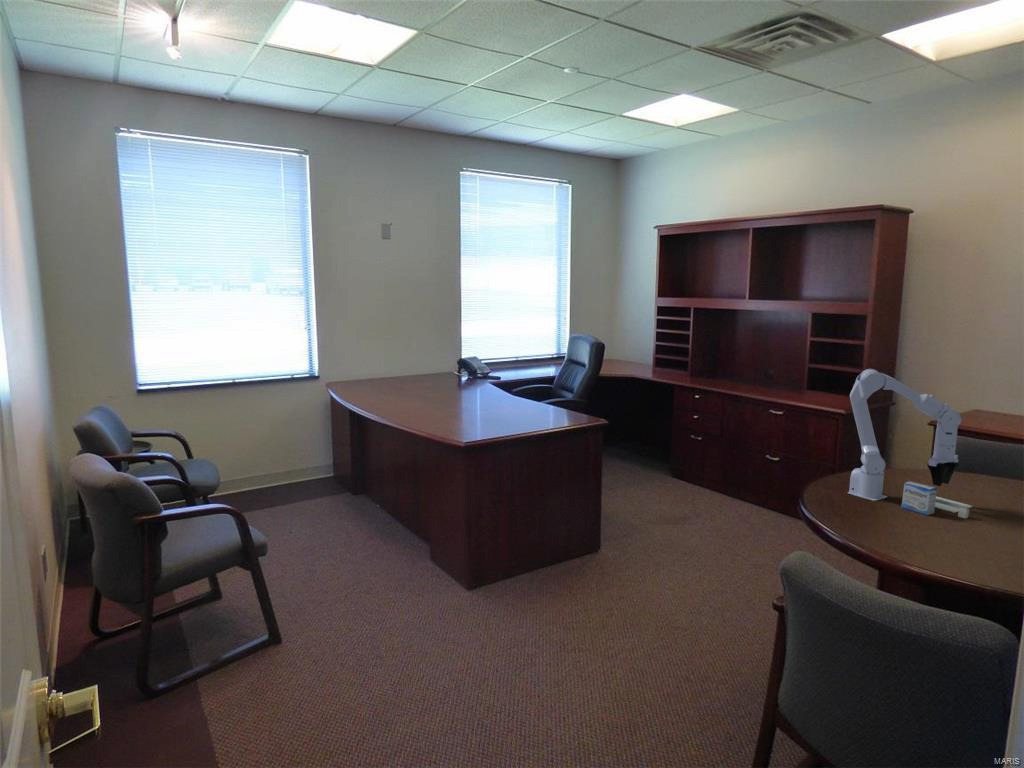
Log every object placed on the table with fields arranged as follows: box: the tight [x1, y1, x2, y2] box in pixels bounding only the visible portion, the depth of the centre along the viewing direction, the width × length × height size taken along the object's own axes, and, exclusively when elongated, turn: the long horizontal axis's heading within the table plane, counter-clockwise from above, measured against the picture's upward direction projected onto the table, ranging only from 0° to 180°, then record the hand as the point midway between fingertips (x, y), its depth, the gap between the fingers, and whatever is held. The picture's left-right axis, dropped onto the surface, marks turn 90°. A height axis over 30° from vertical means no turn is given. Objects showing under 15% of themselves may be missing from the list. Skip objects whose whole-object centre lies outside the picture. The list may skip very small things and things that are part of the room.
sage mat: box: [935, 495, 974, 514], centre depth 201 cm, size 14×12×1 cm
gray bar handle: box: [957, 509, 970, 519], centre depth 196 cm, size 18×2×2 cm, turn 30°
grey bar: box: [935, 498, 970, 510], centre depth 195 cm, size 18×1×1 cm, turn 30°
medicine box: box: [901, 481, 938, 516], centre depth 194 cm, size 8×4×9 cm, turn 30°
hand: (940, 484), depth 200 cm, fingers open, 4 cm apart
